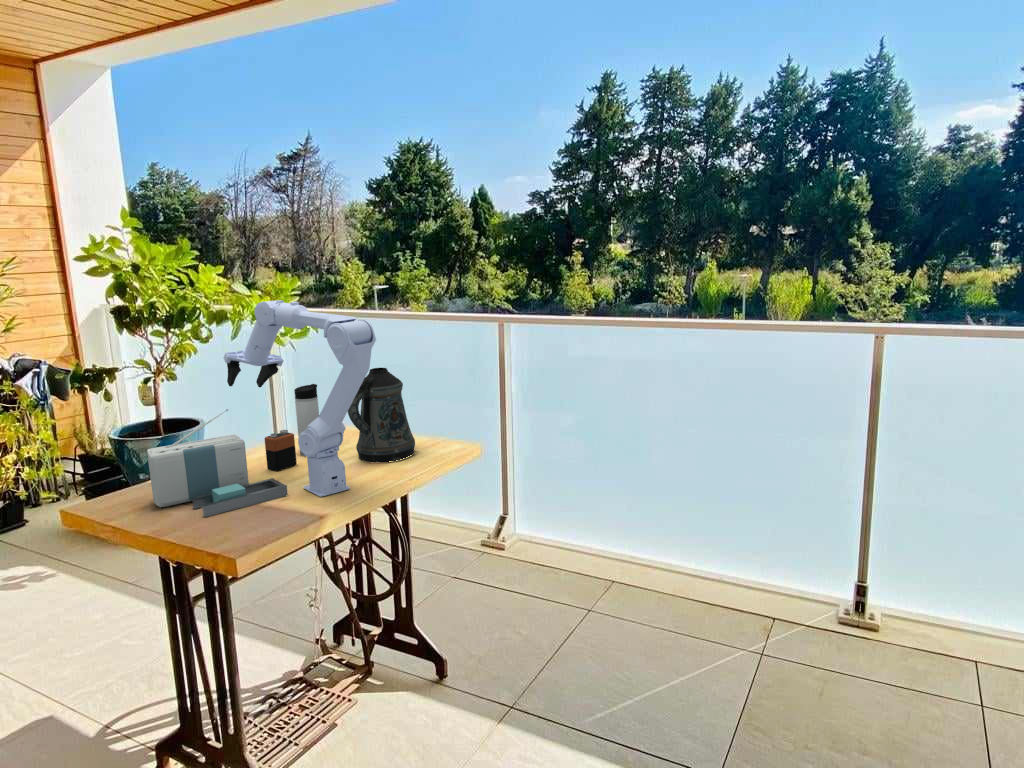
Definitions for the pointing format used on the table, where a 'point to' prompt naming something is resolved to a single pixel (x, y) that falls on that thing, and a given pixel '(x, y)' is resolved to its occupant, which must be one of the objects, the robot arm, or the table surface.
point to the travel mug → (306, 407)
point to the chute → (241, 497)
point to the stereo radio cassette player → (196, 467)
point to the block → (227, 492)
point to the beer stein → (381, 419)
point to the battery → (280, 451)
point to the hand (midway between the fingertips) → (244, 384)
